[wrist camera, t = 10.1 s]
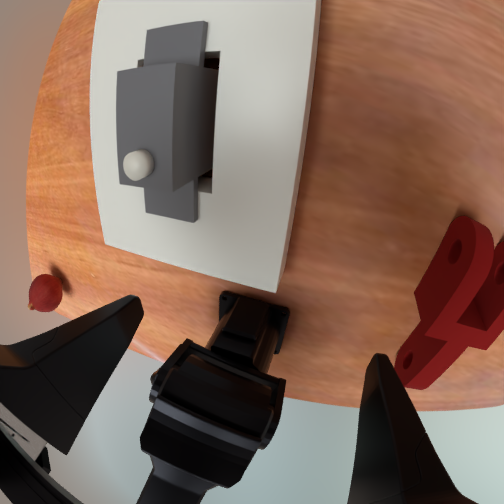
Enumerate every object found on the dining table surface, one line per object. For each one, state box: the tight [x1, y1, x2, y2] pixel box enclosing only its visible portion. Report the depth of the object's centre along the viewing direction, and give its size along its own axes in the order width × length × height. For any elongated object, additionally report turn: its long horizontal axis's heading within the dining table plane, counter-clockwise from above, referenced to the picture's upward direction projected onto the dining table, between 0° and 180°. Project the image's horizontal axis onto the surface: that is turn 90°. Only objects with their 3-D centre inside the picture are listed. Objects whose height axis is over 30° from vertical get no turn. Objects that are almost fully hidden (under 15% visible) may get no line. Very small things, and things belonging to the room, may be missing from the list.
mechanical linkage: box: [394, 216, 504, 390], centre depth 17 cm, size 16×7×5 cm, turn 171°
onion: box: [28, 274, 62, 312], centre depth 32 cm, size 6×6×8 cm
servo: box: [116, 21, 219, 223], centre depth 15 cm, size 13×4×7 cm, turn 175°
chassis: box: [90, 0, 321, 293], centre depth 16 cm, size 22×16×3 cm
